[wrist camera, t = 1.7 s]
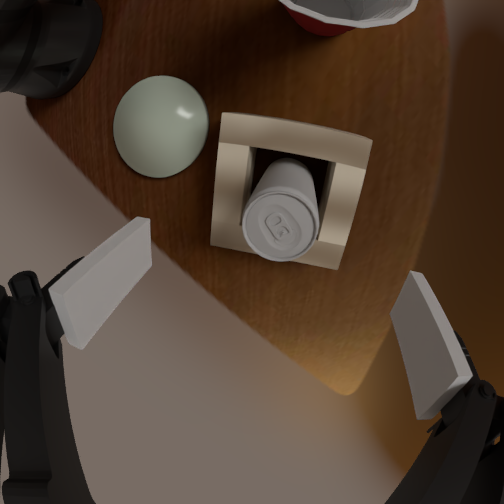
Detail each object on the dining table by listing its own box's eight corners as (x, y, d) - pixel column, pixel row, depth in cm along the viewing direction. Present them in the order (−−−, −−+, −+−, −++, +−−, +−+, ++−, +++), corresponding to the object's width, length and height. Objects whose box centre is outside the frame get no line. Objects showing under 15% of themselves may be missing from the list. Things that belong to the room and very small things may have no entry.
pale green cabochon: (121, 79, 24) (116, 79, 23) (215, 76, 23) (212, 75, 22) (117, 171, 29) (113, 173, 28) (204, 180, 28) (201, 183, 28)
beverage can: (280, 211, 29) (266, 275, 18) (254, 172, 27) (223, 214, 17) (321, 189, 27) (334, 242, 16) (296, 147, 25) (293, 173, 15)
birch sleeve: (235, 112, 25) (222, 112, 20) (359, 135, 24) (372, 140, 19) (223, 224, 30) (210, 244, 26) (332, 245, 29) (337, 269, 25)
